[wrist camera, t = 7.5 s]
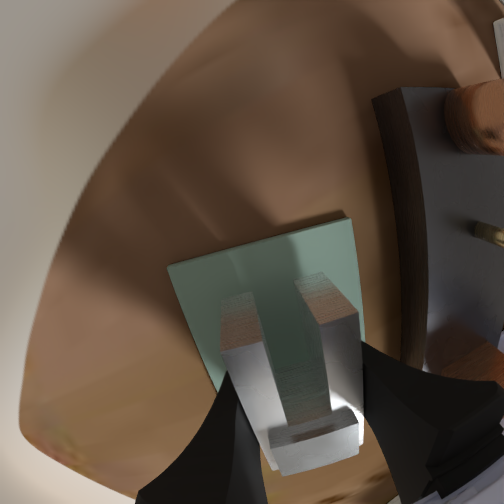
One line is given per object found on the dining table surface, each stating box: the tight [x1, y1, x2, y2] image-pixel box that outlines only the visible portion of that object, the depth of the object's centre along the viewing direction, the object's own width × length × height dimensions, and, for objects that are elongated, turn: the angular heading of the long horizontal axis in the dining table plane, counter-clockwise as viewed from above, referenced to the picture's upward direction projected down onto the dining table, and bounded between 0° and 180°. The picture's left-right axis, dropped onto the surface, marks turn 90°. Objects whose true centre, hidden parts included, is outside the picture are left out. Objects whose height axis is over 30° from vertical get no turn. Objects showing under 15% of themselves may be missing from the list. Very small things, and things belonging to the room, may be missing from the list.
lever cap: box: [220, 271, 364, 476], centre depth 10 cm, size 7×4×4 cm, turn 14°
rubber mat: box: [167, 217, 365, 392], centre depth 13 cm, size 10×8×1 cm
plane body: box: [372, 78, 504, 419], centre depth 10 cm, size 16×7×7 cm, turn 14°
